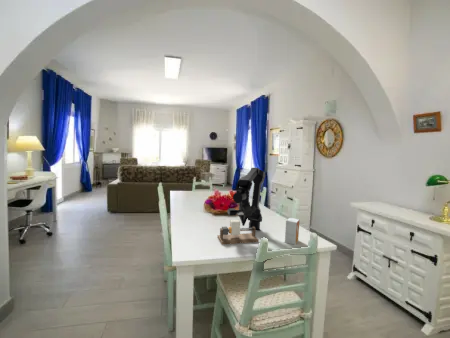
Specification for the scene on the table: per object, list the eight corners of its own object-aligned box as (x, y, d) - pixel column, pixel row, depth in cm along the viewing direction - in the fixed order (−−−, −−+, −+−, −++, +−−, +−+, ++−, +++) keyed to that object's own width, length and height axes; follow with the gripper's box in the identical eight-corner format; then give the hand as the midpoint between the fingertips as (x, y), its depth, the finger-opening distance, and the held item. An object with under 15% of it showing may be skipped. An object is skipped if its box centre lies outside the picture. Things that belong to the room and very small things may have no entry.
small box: (295, 244, 136) (296, 222, 135) (284, 242, 139) (285, 220, 138) (298, 240, 143) (299, 219, 142) (287, 238, 146) (289, 217, 145)
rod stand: (251, 235, 149) (252, 223, 148) (258, 242, 138) (259, 228, 138) (217, 237, 143) (217, 224, 143) (221, 244, 133) (222, 231, 132)
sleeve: (237, 232, 143) (238, 219, 142) (239, 234, 138) (240, 222, 138) (229, 232, 141) (230, 220, 141) (231, 235, 137) (232, 222, 137)
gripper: (232, 203, 130) (231, 231, 131) (264, 202, 134) (263, 229, 135) (227, 198, 140) (226, 224, 142) (257, 198, 145) (256, 223, 146)
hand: (243, 225), depth 141 cm, fingers closed
